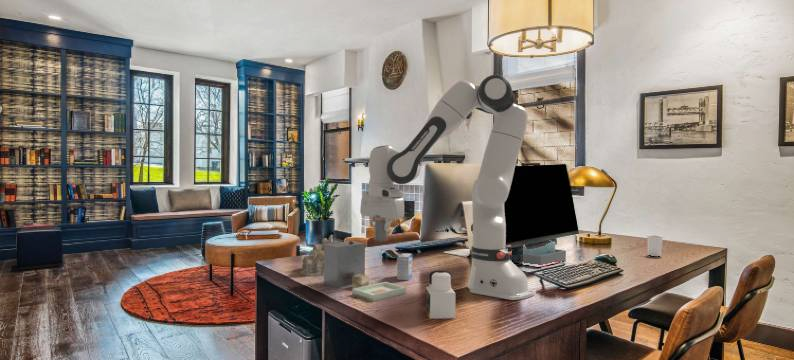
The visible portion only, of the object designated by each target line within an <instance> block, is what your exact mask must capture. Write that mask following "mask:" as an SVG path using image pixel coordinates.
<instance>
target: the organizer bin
mask: <svg viewBox="0 0 794 360" xmlns="http://www.w3.org/2000/svg"><path fill="white" fill-rule="evenodd" d="M566 255H567V250H563V249H558V248H557V249H556V248H555V253H551V254H547V255H542V256H537V255H530V254H524V253H523V262H524V263H530V264H538V265H543V264H548V263H552V262H561V261H567V258H566V257H567V256H566Z"/></svg>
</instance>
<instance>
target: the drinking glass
mask: <svg viewBox="0 0 794 360" xmlns="http://www.w3.org/2000/svg"><path fill="white" fill-rule="evenodd" d="M663 237H664V236H663V235H658V234H647V235H646V240H647V241H646V243H647V256H648V255H653V256H660V255H661V256H662V250H663Z"/></svg>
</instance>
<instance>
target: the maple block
mask: <svg viewBox="0 0 794 360" xmlns="http://www.w3.org/2000/svg"><path fill="white" fill-rule="evenodd" d="M368 285H370V275H367V274H365V275H362V274H359V275H355V276H353V285H351V286H352V287H351V288H352V289H354V288H358V287H363V286H368Z"/></svg>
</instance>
